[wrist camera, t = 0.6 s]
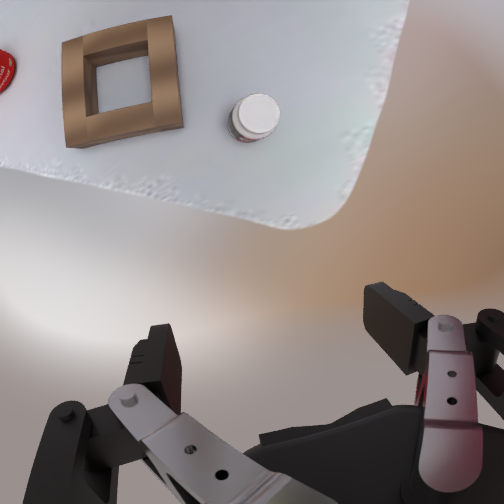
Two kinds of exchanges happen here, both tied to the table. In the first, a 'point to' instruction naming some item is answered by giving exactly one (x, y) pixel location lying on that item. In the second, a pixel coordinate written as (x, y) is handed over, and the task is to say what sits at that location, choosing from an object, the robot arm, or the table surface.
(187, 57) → the table surface
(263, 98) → the pill bottle
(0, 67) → the beverage can
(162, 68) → the socket block
